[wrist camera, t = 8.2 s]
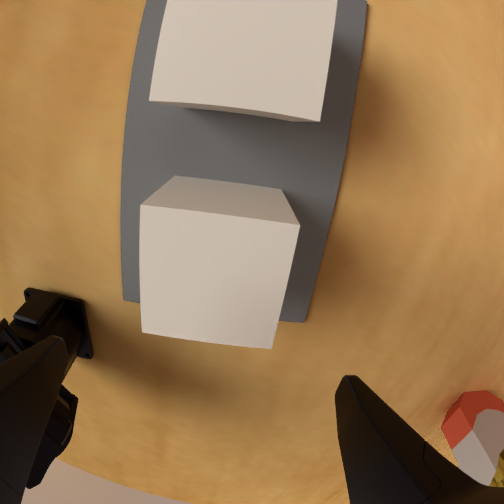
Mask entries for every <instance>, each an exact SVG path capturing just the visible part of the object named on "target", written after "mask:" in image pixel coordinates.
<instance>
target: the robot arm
mask: <svg viewBox="0 0 504 504" xmlns="http://www.w3.org/2000/svg"><path fill="white" fill-rule="evenodd" d="M24 296H25V300H26V302H25V303H24V304H23V305H22V306H21V307H20V308H19V310H18V311H17V312H16V313H15V314H14V316H13V317H14V320H13V321H12V322H11V323H10V324H9V325H8V322H7V320H6V319H5V318H3V319H2V320H1V321H0V504H21V501H22V497H23V493H24V490H25V487H26V488H28V489H31V488H33V487H35V486H37V485H38V484H40V483H41V481H42V479H43V477H44V475H45V473H46V471H47V469H48V467H49V466H50V464H51V463H52V461H53V460H54V459H55V457H57V456H59V455H60V454H61V453H62V452H63V451H64V450H65V448H66V447H67V445H68V443H69V442H70V439H71V437H72V433H73V427H74V421H75V415H76V409H77V404H78V398H77V397H76V396H75V395H74V394H71V393H70V392H69V391H68V390H67V389H66V388H65V387H64V386H63V385H62V382H63V380H64V378H65V377H66V375H67V373H68V371H69V369H70V367H71V366H72V364H73V362H74V360H75V359H76V357H77V356H78V357H82V358H86V359H92V357H93V355H94V353H93V349H92V344H91V339H90V334H89V329H88V324H87V318H86V312H85V306H84V303H83V301H82V300H80V299H77V298H72V297H67V296H63V295H59V294H55V293H50V292H46V291H42V290H36V289H32V288H27V289H25V290H24ZM77 304H78V305H79V306H78V305H77ZM335 406H336V418H337V431H338V440H339V445H340V450H341V456H342V461H343V466H344V471H345V477H346V482H347V488H348V494H349V499H350V504H504V487H492V486H487V485H484V484H481V483H479V482H477V481H476V480H474V479H473V478H472V477H470V476H469V475H467V474H466V473H465V472H463V471H462V470H461V469H459V468H458V467H456V466H455V465H454V464H452V463H451V462H450V461H449V460H447V459H446V458H445V457H443V456H442V455H441V454H440V453H439V452H438V451H437V450H435V449H434V448H433V447H432V446H431V445H430V444H429V443H428V442H427V441H425V440H424V439H423V438H422V437H421V436H420V435H419V434H418V433H417V432H416V431H415V430H414V429H413V428H412V427H410V426H409V425H408V424H407V423H406V422H405V421H404V420H403V419H402V418H401V417H400V416H399V415H398V414H397V413H396V412H395V411H393V410H392V409H391V408H390V407H389V406H388V405H387V404H386V403H385V402H384V401H383V400H382V399H381V398H380V397H379V396H378V395H377V394H376V393H374V392H373V391H372V390H371V389H370V388H369V387H368V386H367V385H366V384H365V383H364V382H363V381H362V380H361V379H360V378H359V377H358V376H356V375H345V376H344V377H343V378H342V380H341V382H340V384H339V386H338V388H337V390H336V393H335Z"/></svg>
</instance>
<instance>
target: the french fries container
mask: <svg viewBox="0 0 504 504" xmlns="http://www.w3.org/2000/svg"><path fill="white" fill-rule="evenodd" d="M441 429H442V431H443V433H444V435H445V437H446V439H447V441H448V443H449V445H450V448H451V450H452V452H453V454H454V456H455V458H456V461H457V463H458V465H459V467H460V469H461V470H462V471H463V472H465V473H466V474H467V475H469V476H470V477H472V478H473V479H474V480H476V481H477V482H479V483H481V484H484V485H487V486H492V487H504V402H503V401H502V400H501V399H499V398H498V397H496V396H494V395H492V394H491V393H489V392H487V391H486V390H484V391H475V392H464V393H463V394H462V396H461V397H460V398H459V399H458V401H457V402H456V403H455V404H454V405H453V406H452V408H451V409H450V410H449V411H448V412H447V414H446V417H445V419H444V421H443V424H442V426H441Z"/></svg>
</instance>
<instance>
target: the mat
mask: <svg viewBox="0 0 504 504" xmlns="http://www.w3.org/2000/svg"><path fill="white" fill-rule="evenodd" d="M166 4H167V0H147V1H146V5H145V9H144V13H143V17H142V22H141V26H140V31H139V36H138V41H137V46H136V51H135V57H134V62H133V68H132V75H131V81H130V88H129V96H128V104H127V112H126V122H125V132H124V144H123V158H122V177H121V266H122V285H123V299H124V301H130V302H136V303H140V271H139V234H140V205H141V204H142V203H143V202H144V201H145V200H146V199H148V198H149V197H150V196H151V195H152V194H153V193H155V192H156V191H157V190H158V189H159V188H161V187H162V186H163V185H164V184H165V183H167V182H168V181H169V180H170V179H171V178H173V177H174V176H185V177H194V178H203V179H211V180H219V181H227V182H235V183H242V184H249V185H256V186H263V187H270V188H276V189H281V190H282V191H283V193H284V195H285V197H286V199H287V201H288V203H289V205H290V207H291V208H292V210H293V212H294V214H295V216H296V218H297V220H298V222H299V224H300V229H299V233H298V238H297V243H296V247H295V252H294V256H293V261H292V265H291V270H290V274H289V278H288V283H287V287H286V291H285V296H284V300H283V304H282V308H281V312H280V316H279V321H288V322H300V323H304V322H305V318H306V315H307V311H308V308H309V304H310V301H311V297H312V293H313V290H314V286H315V282H316V279H317V275H318V271H319V267H320V263H321V259H322V256H323V252H324V248H325V244H326V239H327V235H328V231H329V227H330V223H331V218H332V214H333V210H334V205H335V201H336V196H337V192H338V187H339V182H340V178H341V173H342V168H343V163H344V158H345V153H346V148H347V142H348V137H349V131H350V126H351V120H352V114H353V108H354V102H355V96H356V89H357V83H358V76H359V69H360V62H361V54H362V46H363V38H364V29H365V19H366V9H367V1H365V0H338V1H337V9H336V17H335V25H334V32H333V40H332V47H331V54H330V61H329V68H328V74H327V81H326V87H325V93H324V100H323V106H322V112H321V118H320V122H292V121H286V120H281V119H275V118H268V117H262V116H255V115H248V114H241V113H232V112H224V111H215V110H204V109H192V108H181V107H177V106H172V105H167V104H162V103H157V102H152V101H149V96H150V88H151V82H152V75H153V69H154V63H155V57H156V51H157V46H158V41H159V36H160V31H161V26H162V21H163V17H164V12H165V8H166Z"/></svg>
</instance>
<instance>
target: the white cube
mask: <svg viewBox="0 0 504 504" xmlns="http://www.w3.org/2000/svg"><path fill="white" fill-rule="evenodd" d="M299 229H300V224H299V222H298V220H297V218H296V216H295V214H294V212H293V210H292V208H291V207H290V205H289V203H288V201H287V199H286V197H285V195H284V193H283V191H282V190H281V189H276V188H270V187H263V186H256V185H249V184H242V183H235V182H227V181H219V180H211V179H203V178H194V177H185V176H174V177H173V178H171V179H170V180H169V181H168V182H167V183H165V184H164V185H163V186H162V187H161V188H159V189H158V190H157V191H156V192H155V193H153V194H152V195H151V196H150V197H149V198H148V199H146V200H145V201H144V202H143V203H142V204H141V205H140V234H139V271H140V305H141V324H142V332H143V333H149V334H154V335H160V336H167V337H173V338H180V339H186V340H193V341H201V342H208V343H216V344H225V345H234V346H243V347H253V348H264V349H272V345H273V341H274V337H275V333H276V329H277V325H278V321H279V316H280V312H281V308H282V304H283V300H284V296H285V291H286V287H287V283H288V278H289V274H290V270H291V265H292V261H293V256H294V252H295V247H296V243H297V238H298V233H299Z"/></svg>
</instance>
